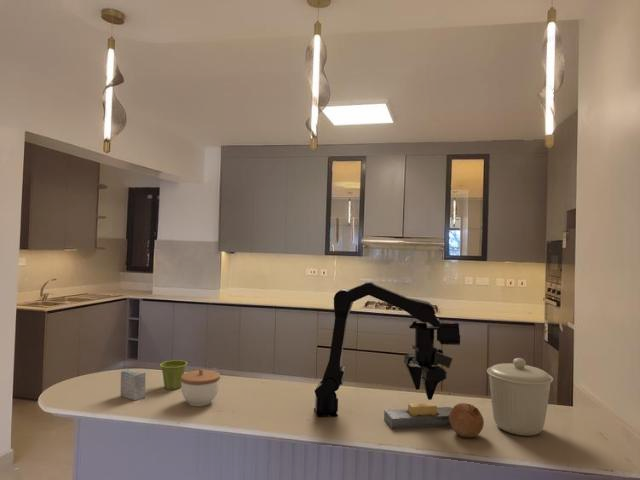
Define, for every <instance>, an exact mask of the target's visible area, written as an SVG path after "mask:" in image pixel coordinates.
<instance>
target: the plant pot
mask: <svg viewBox="0 0 640 480" xmlns="http://www.w3.org/2000/svg"><path fill="white" fill-rule="evenodd" d="M159 365H160V368H161V372H162V379H163V384H164V385H163V386H164V388H165V389H166V390H170V391H171V390H175V389H178V388H179V389H180V388H181V376H182V375H183V374H185V369H186V367H187V365H188V362H187V361H185V360H181V359H180V360H177V359H175V360H166V361H163V362H161V363H160V364H159ZM181 389H182V388H181Z"/></svg>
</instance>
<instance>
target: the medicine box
mask: <svg viewBox="0 0 640 480" xmlns="http://www.w3.org/2000/svg"><path fill="white" fill-rule="evenodd" d="M146 377H147V375H146V372H145V371H141V370H138V369H133V368H129V369H125V370H123V371H120V397H121V398H126V399H129V400H131V401H138V400H141V399H144V398H146V388H147V387H146V381H147V380H146Z"/></svg>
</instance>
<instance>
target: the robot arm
mask: <svg viewBox="0 0 640 480" xmlns="http://www.w3.org/2000/svg"><path fill="white" fill-rule="evenodd" d="M368 296H370V297H372V298H375V299H377V300H378V301H379V300H380V301H381V302H384V303H387V304H389V305H392V306H394V307H396V308H399V309H402V310H403V311H405V312H406V313H407V314H409V315H410V316H412V317H413V318H415V319H413V321H412V322H411V323H410V324H408V327H409V329H413V330H414V344H412V349H413V350H414V354H413V353H411V354H410V353H409V354H406V355H404V357H403V364H405V367H406V369H407V373H409V376H410V379H411V381H412V383H413V386H414V388H415V390H416V391H417V390H418V391H419V390H420V388H421V382H422V384H423V388H424V392H425V394H426V398H427V400H429V401H431V400H432V399H433V398H434V394H435V392H436V389H437V386H438V384H439V383H440V382H443V381H444V380H447V375H448V374H447V371H446V370H445V369H444V368H443V367H441V366H439V365H442V366H444V367H446V368H448V369H450V367H451V364H452V361H453V357H451V356H449V355H448V354H445V353H444V350H443V349H441V348H438V347H435V340H436V342H437V341H438V343H439V344H440V345H443V346H444V345H445V346H448V345H449V346H460V344H461V335H460V324H459V322H456V321H452V322H445V321H440V319H439V317H437V316H436V315H437V314H436V311H435V310H436V309H434V308H435V307H434V305H433V304H432V303H430V302H429V301H426V300H421V299H416V298H410V297H407V296H405V295H401V294H399V293H397V292H395V291H393V290H390V289H388V288H385V287H383V286H380V285H377V283H374V282H372V281H366V282H365V283H362V284H361V285H357V286H355V287H353V288H351V289H348V288H343V289H340V290H338V291H337V292H336V293H335V294H334V296H333V312H334V323H333V329H332V331H333V332H332V336H331V343H330V344H331V345H330V351H329V358H328V362H327V365H326V368H325V371H324V372H323V373H324V374H323V376H322V380H321V381H319V383H318V384H317V386H316V387H315V389H314V394H315V397H314V398H315V400H314V401H315V402H314V403H315V405H314V408H313V410H314V413H315V415H316V417H337V416H338V411H339V399H338V397H337V393H336V391H338V390H339V389H340V387H341V386H343V383H344V381H345V379H346V377H345V376H346V375H345V373H346V369H347V366H343V361H342V360H343V352H344V346H345V339H346V332H347V331H346V330H347V324H348V318H349V315H350V314H351V313H350V312H351V310H352V308H353V304H354V302H356V301H358V300H361V299H363V298H365V297H368ZM416 320H418V321H419V322H418V321H416ZM428 324H430V325H428ZM435 333H436V334H435ZM435 337H436V339H435Z"/></svg>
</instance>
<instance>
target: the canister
mask: <svg viewBox="0 0 640 480" xmlns="http://www.w3.org/2000/svg"><path fill="white" fill-rule="evenodd" d="M486 373H487V374H488V378H489V388H490V399H491V408H492V416H493V420H494V423H495V424H496V425H497V427H498V428H500V429H501V430H502V431H504V432H507V433H510V434H512V435H516V436H517V435H518V436H525V437H526V436H527V437H528V436H536V435H538V434H540V433H541V432H542V431H543V429H544V426H545V421H546V416H547V411H548V404H549V398H550V397H549V396H550V391H551V384H552V382H553V381H554V378H553V376H552V375H550V374H549V372H546V370H543V369H541V368H539V367H536V366H531V365H528V364H527V363H526V360H525V359H524V358H521V357H516V358H514V359H512V363H509V362H508V363H498V364H494V365H492V366H489V367H488V368H487V369H486Z"/></svg>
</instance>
